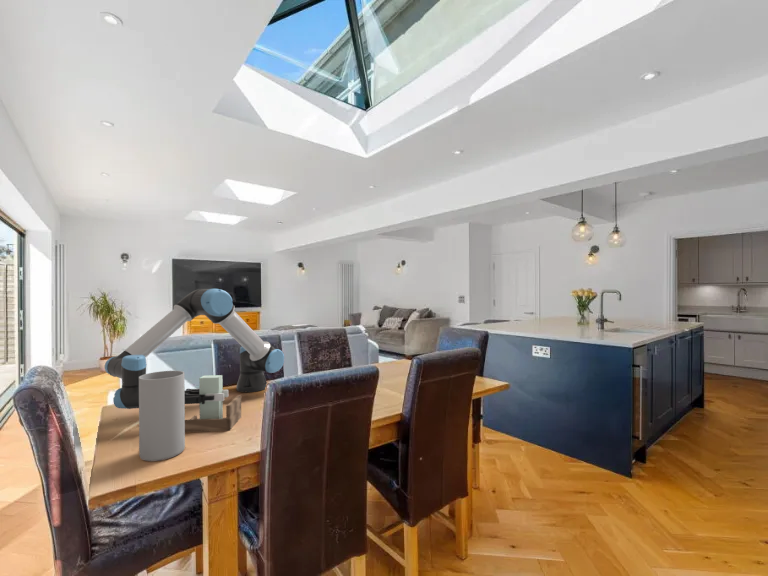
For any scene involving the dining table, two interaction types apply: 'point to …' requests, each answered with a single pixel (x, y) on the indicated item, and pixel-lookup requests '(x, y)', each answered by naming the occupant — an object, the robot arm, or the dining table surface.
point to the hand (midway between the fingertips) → (225, 395)
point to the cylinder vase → (161, 415)
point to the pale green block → (207, 387)
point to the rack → (217, 424)
